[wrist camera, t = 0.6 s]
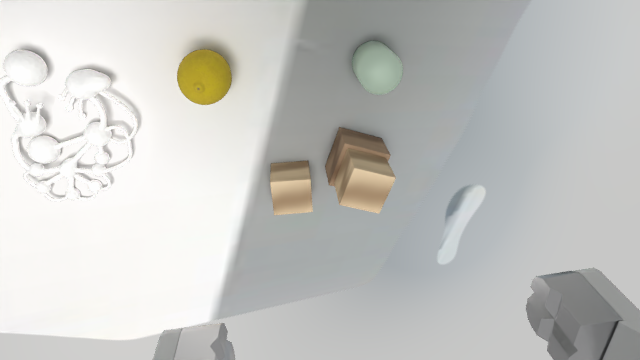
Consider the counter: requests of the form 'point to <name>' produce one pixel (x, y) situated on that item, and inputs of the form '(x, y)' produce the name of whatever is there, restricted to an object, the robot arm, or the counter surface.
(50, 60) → the counter surface
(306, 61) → the counter surface
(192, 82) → the lemon
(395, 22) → the counter surface
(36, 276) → the counter surface
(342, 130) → the tower block base
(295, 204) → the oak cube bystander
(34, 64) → the tangled rod sculpture
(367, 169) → the tower block top
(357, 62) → the sage green cylinder
